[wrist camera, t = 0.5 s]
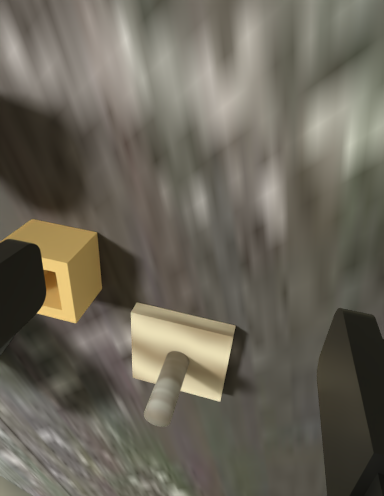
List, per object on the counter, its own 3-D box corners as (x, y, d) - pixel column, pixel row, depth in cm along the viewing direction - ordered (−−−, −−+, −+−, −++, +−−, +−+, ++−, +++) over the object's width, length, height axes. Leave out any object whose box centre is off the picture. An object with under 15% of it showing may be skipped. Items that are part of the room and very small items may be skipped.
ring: (32, 218, 32) (-7, 246, 28) (97, 232, 31) (67, 263, 27) (43, 274, 36) (10, 306, 32) (102, 288, 35) (76, 323, 31)
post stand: (136, 302, 35) (99, 366, 28) (235, 325, 33) (220, 399, 26) (137, 366, 40) (106, 432, 33) (222, 389, 38) (207, 464, 32)
